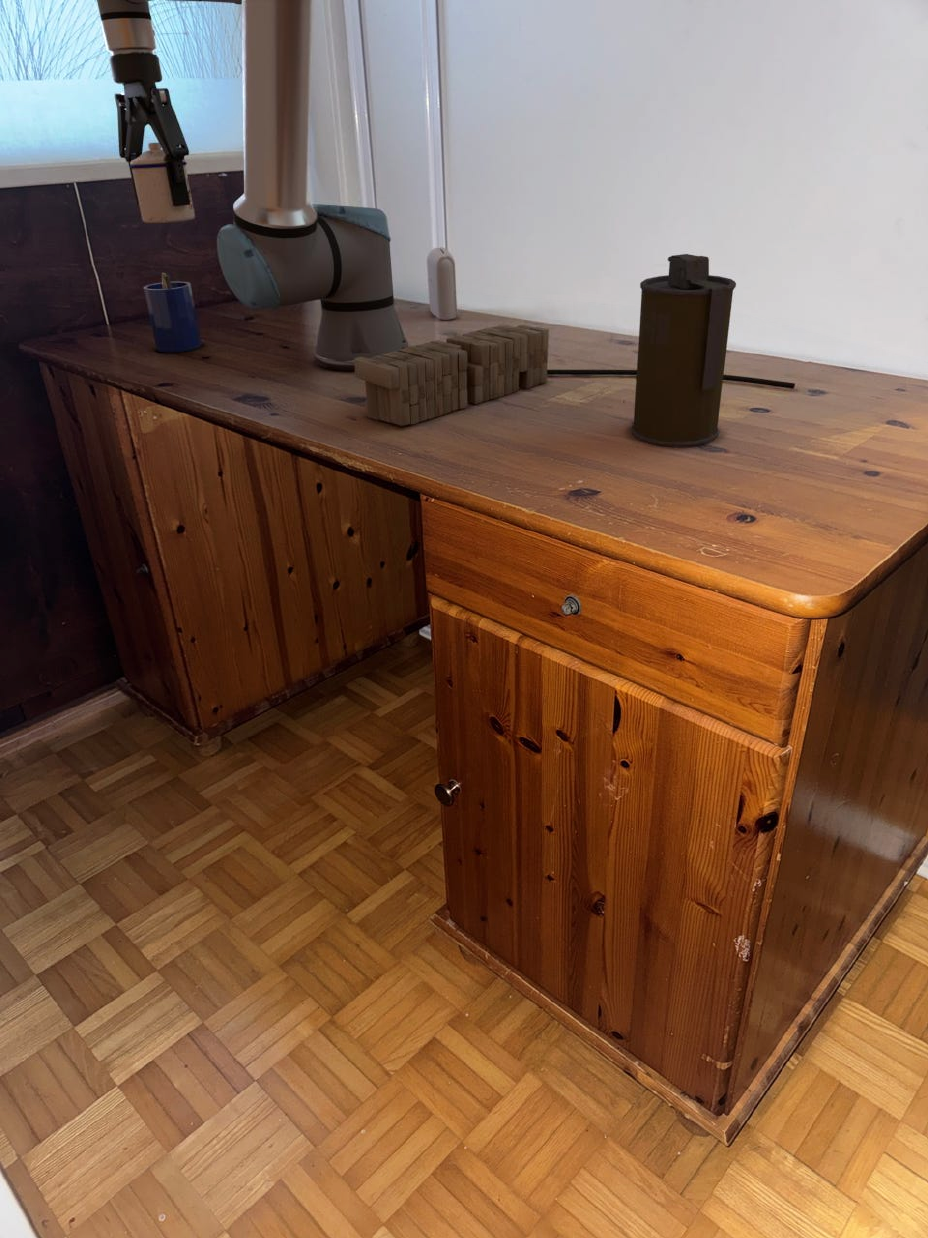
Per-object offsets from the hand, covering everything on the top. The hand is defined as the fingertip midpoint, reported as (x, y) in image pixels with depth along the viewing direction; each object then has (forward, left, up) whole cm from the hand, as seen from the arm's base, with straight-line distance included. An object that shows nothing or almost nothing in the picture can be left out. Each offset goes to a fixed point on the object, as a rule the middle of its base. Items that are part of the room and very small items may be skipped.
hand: (163, 204), depth 148 cm
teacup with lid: (0, 0, -3) cm, 3 cm away
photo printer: (-22, -44, -23) cm, 54 cm away
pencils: (-3, +3, -23) cm, 23 cm away
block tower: (-66, -6, -23) cm, 70 cm away
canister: (-97, -13, -23) cm, 100 cm away
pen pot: (-3, +3, -23) cm, 23 cm away
